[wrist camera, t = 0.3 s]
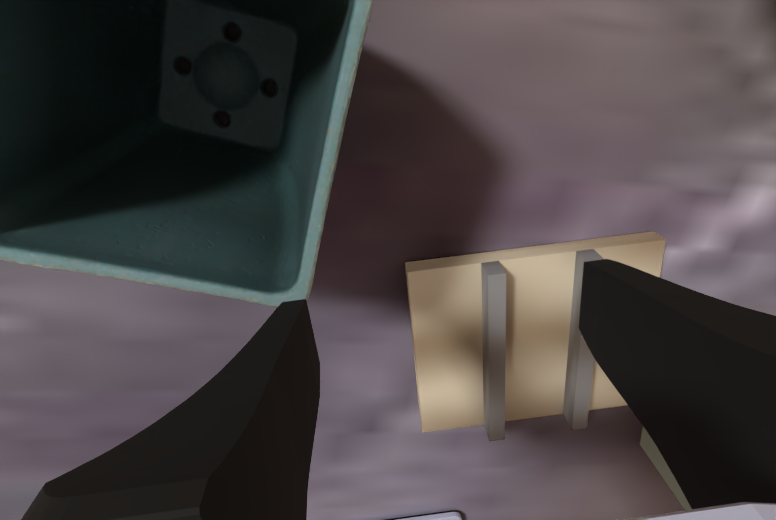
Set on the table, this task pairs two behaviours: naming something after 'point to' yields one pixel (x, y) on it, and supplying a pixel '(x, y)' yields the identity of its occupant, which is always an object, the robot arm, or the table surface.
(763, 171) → the table surface
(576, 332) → the track board
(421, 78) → the table surface
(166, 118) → the flower pot
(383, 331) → the table surface
